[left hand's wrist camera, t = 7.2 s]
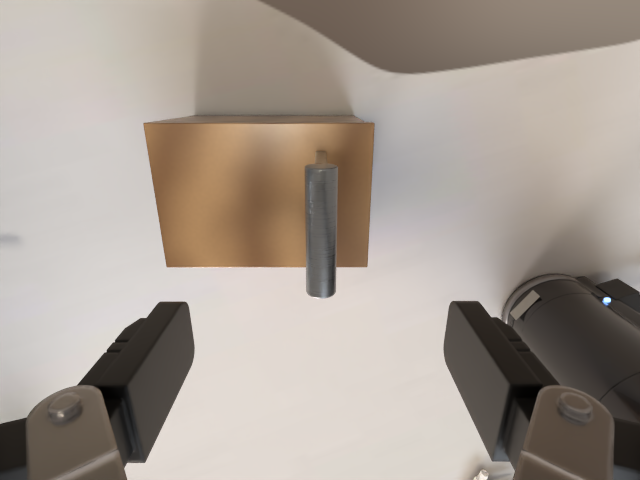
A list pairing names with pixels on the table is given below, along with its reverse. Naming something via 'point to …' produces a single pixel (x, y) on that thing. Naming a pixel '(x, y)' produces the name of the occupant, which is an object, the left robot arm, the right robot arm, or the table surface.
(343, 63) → the table surface
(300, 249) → the wooden door panel
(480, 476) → the spray bottle
